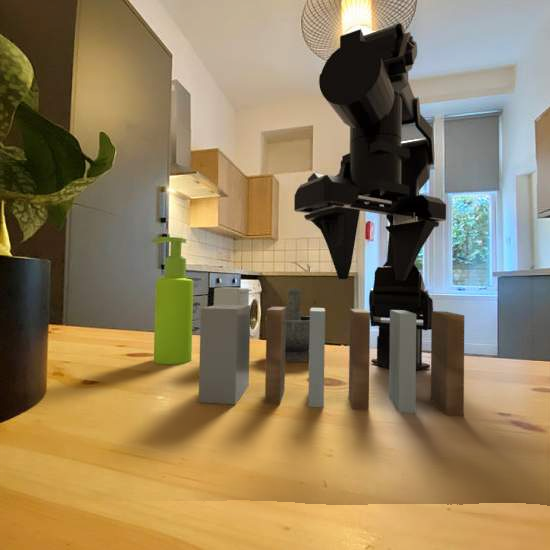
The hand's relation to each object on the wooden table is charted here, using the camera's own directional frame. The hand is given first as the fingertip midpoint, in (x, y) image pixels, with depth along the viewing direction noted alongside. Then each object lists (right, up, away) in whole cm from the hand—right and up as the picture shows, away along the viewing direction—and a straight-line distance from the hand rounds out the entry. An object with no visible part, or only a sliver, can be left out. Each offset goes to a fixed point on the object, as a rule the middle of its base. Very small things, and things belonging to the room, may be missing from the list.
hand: (373, 279), depth 40 cm
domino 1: (-11, -13, 0) cm, 17 cm away
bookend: (-17, -13, 0) cm, 22 cm away
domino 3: (-2, -13, -1) cm, 14 cm away
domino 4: (+2, -14, -2) cm, 14 cm away
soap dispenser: (-28, -14, +17) cm, 36 cm away
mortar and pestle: (-8, -14, +21) cm, 26 cm away
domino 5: (+7, -14, -3) cm, 15 cm away
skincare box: (-19, -14, +17) cm, 29 cm away
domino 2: (-7, -13, -1) cm, 15 cm away
